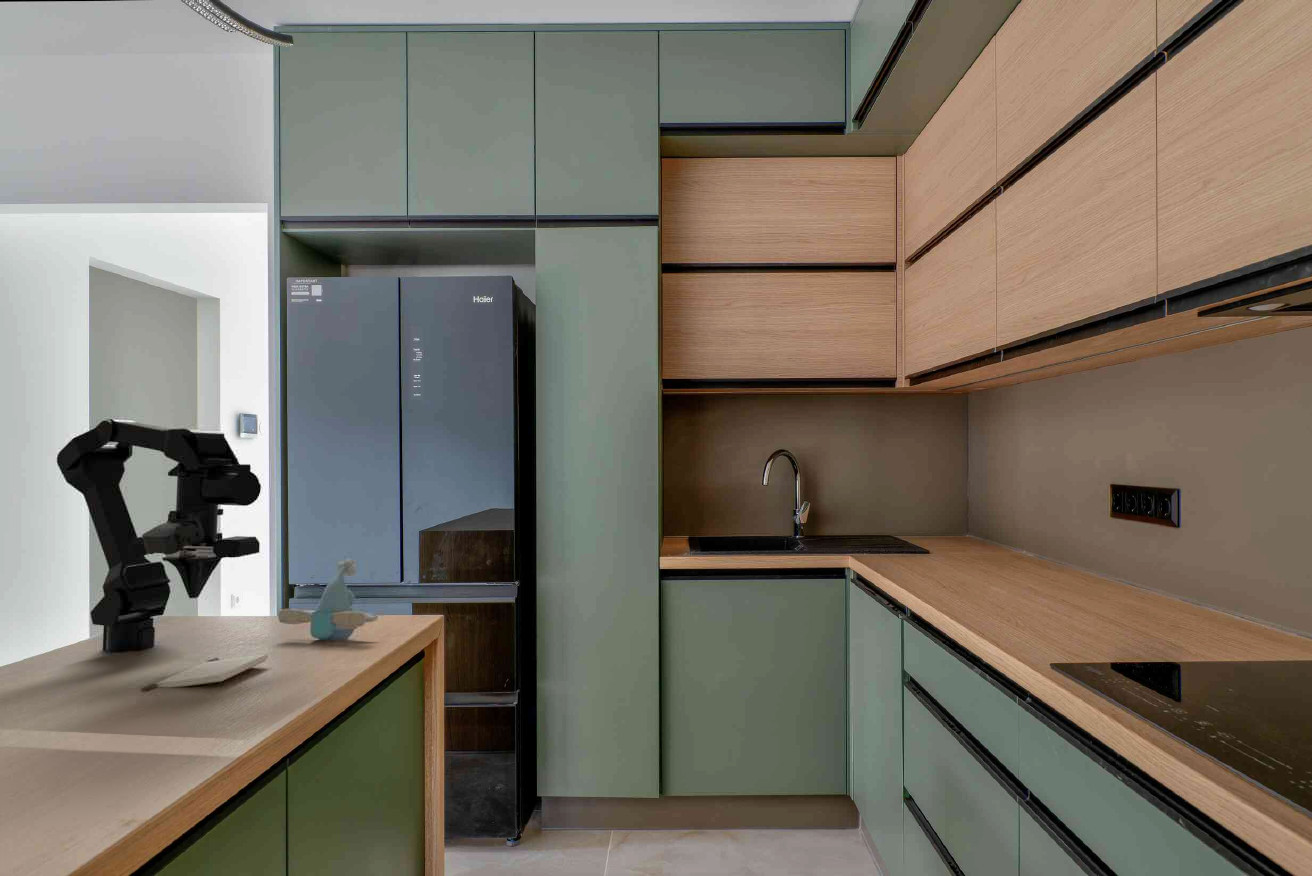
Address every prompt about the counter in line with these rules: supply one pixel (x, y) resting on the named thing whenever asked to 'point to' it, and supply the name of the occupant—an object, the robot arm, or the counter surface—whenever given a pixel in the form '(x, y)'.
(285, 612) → the toy figure
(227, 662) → the tile
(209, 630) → the counter surface
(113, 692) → the counter surface
